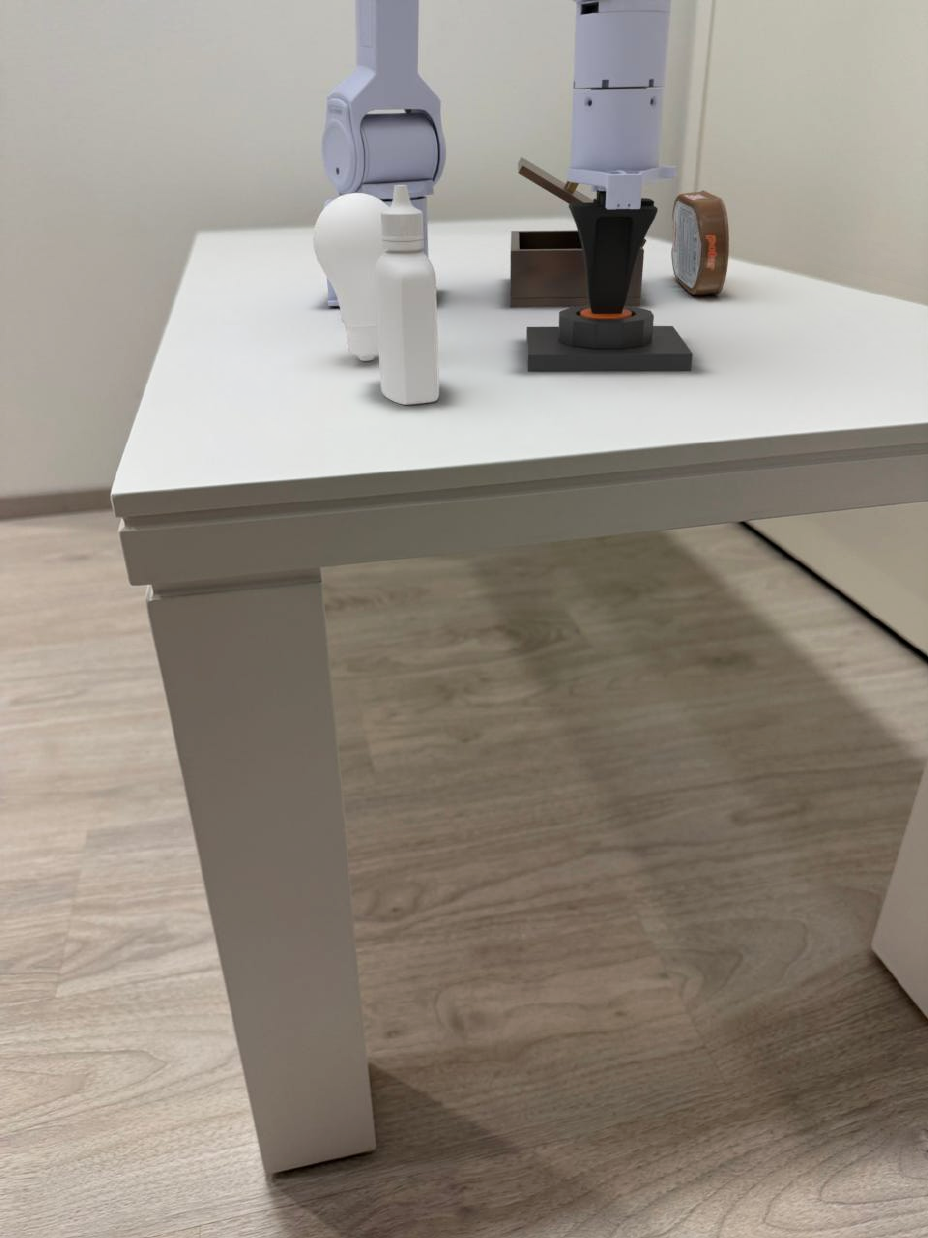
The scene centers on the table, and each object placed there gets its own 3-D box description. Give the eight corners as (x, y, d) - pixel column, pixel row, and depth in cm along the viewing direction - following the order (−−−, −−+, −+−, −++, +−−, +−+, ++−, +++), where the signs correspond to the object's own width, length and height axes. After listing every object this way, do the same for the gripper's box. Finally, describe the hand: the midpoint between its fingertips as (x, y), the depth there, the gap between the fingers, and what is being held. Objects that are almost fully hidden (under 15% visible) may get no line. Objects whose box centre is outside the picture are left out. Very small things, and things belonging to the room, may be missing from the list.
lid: (518, 172, 78) (546, 117, 76) (517, 163, 91) (542, 115, 89) (642, 247, 80) (673, 195, 78) (624, 228, 93) (651, 183, 91)
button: (580, 342, 64) (581, 316, 64) (577, 331, 68) (578, 307, 67) (632, 342, 64) (634, 316, 63) (627, 331, 67) (629, 306, 67)
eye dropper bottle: (452, 384, 61) (448, 181, 55) (433, 408, 56) (426, 189, 50) (388, 381, 61) (377, 181, 56) (363, 405, 56) (349, 189, 51)
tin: (726, 301, 84) (738, 200, 80) (691, 302, 84) (701, 200, 80) (693, 275, 97) (702, 186, 93) (663, 275, 97) (671, 187, 93)
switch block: (527, 372, 63) (528, 326, 61) (526, 342, 71) (526, 301, 69) (691, 371, 62) (695, 325, 61) (671, 341, 70) (675, 300, 69)
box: (510, 307, 83) (510, 250, 81) (510, 280, 96) (511, 230, 94) (640, 306, 83) (644, 249, 80) (623, 279, 95) (626, 229, 93)
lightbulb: (342, 375, 63) (327, 198, 58) (312, 357, 68) (296, 192, 62) (423, 363, 65) (416, 192, 60) (389, 347, 70) (380, 187, 65)
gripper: (702, 85, 52) (679, 333, 59) (666, 90, 65) (650, 293, 71) (576, 88, 52) (567, 334, 59) (564, 92, 65) (558, 294, 72)
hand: (606, 312), depth 65 cm, fingers closed, pressing on button
